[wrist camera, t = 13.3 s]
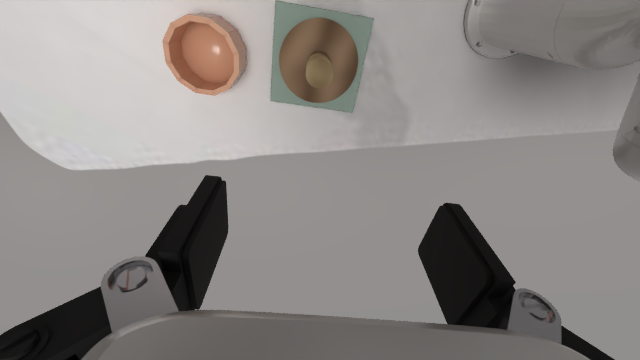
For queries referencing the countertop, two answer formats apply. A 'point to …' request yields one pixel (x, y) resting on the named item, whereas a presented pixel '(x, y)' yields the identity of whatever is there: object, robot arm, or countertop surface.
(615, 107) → the countertop surface
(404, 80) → the countertop surface
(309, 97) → the lid
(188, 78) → the bowl
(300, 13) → the mat
